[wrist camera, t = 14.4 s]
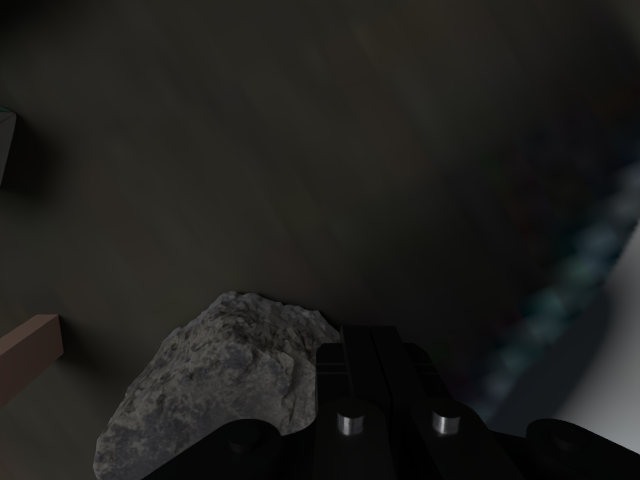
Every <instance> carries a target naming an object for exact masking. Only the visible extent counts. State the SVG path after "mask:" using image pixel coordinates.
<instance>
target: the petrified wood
mask: <svg viewBox="0 0 640 480" xmlns="http://www.w3.org/2000/svg"><path fill="white" fill-rule="evenodd" d="M322 343H340V334H339V332H338V331H336V330H335V329H334V328H333V327H332V326H331V325H330V324H328V323H327V321H326V320H325V319H324V318H323V317H322V315H321V314H320V312H319V311H318V310H317V311H309V310H305V309H303V308H302V307H300V306H293V305H284V306H283V304H282V303H281V302H274V301H272V300H269V299H266V298H263V297H261V296H260V295H258V294H256V293H247V294H245V295H241V294H239V293H237V292H235V291H230V292H227V293H224V294H222V295H221V296H219V297H218V298H217V299H216V301H215V302H214V303H212V304H211V305H210V307H209V308H208V309H207V310H205V311H203V312H201V315H199V316H198V317H197V318H196V319H194V320H192V321H190V322H189V324H188V325H187V326H185V327H183V326H180V327H178V328H176V329H175V330H174V331H173V332H172V333H171V334H170V335H169V336H168V337H167V338H166V339H165V340H163V342H162V343H161V346H160V349H159V351H158V352H157V354H156V355H155V356H154V358H153V359H152V360H151V362H150V363H149V364H148V365H147V366H146V367H145V368H144V369H143V371H142V373H141V374H140V375H139V376H138V377H137V378H136V379H135V380H134V381H133V383H132V384H131V385H130V386H129V387H128V389H127V391H126V395H125V398H124V399H123V401H122V402H121V403H120V405H119V407H118V409H117V410H116V412H115V414H114V415H113V417H112V418H111V419H110V421H109V423H108V426H107V427H106V428H105V430H104V431H103V432H102V434H101V435H100V436H99V438H98V440H97V446H96V453H95V459H94V465H93V469H94V473H95V475H96V477H97V479H98V480H141V479H142V478H144V477H145V476H147V475H148V474H150V473H151V472H153V471H154V470H156V469H157V468H159V467H160V466H162V465H163V464H165V463H166V462H168V461H169V460H171V459H172V458H174V457H175V456H177V455H178V454H180V453H181V452H183V451H184V450H186V449H187V448H189V447H190V446H192V445H193V444H195V443H196V442H198V441H199V440H201V439H202V438H204V437H205V436H207V435H208V434H210V433H211V432H213V431H214V430H216V429H217V428H219V427H221V426H222V425H224V424H226V423H229V422H231V421H235V420H239V419H259V420H263V421H266V422H269V423H271V424H272V425H274V426H275V427H276V428H277V429H278V430H279V432H280V434H281V436H283V435H288V434H291V433H295V432H298V431H300V430H302V429H304V428H306V427H307V426H308V425H310V424H311V423H312V422H313V421H314V420H315V362H316V351H317V350H318V349H319V347H320V346H321V345H322Z"/></svg>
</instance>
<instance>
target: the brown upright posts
mask: <svg viewBox="0 0 640 480" xmlns="http://www.w3.org/2000/svg"><path fill="white" fill-rule="evenodd" d="M63 353H64V350H63V343H62V337H61V330H60V323H59V316H58V314H56V315H36V316H34V317H33V318H31V319H30V320H28V321H26V322H25V323H23V324H22V325H20V326H19V327H17V328H16V329H14V330H13V331H11V332H10V333H8V334H7V335H5V336H3V337H2V338H0V409H1V408H2V407H4V406H5V405H6V404H7V403H8V402H9V401H10V400H11V399H13V398H14V397H15V396H16V395H17V394H18V393H19V392H20V391H22V390H23V389H24V388H25V387H26V386H27V385H28V384H29V383H31V382H32V381H33V380H34V379H35V378H36V377H37V376H39V375H40V374H41V373H42V372H43V371H44V370H45V369H46V368H48V367H49V366H50V365H51V364H52V363H53V362H54V361H55V360H57V359H58V358H59V357H60V356H61V355H62V354H63Z"/></svg>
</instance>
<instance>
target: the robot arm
mask: <svg viewBox="0 0 640 480" xmlns="http://www.w3.org/2000/svg"><path fill="white" fill-rule="evenodd" d="M141 480H640V455H639V454H638V453H636V452H634V451H631V450H629V449H627V448H625V447H623V446H621V445H618V444H616V443H614V442H612V441H610V440H608V439H606V438H604V437H602V436H599V435H597V434H595V433H593V432H591V431H589V430H587V429H585V428H582V427H580V426H578V425H575V424H573V423H569V422H566V421H562V420H557V419H539V420H536V421H533V422H531V423H530V424H529V425H528V427H527V431H526V437H525V438H522V437H518V436H513V435H508V434H503V433H499V432H494V431H491V430H489V429H488V428H487V426H486V425H485V424H484V422H483V421H482V419H481V418H480V417H479V415H478V414H477V413H476V412H475V411H474V410H473V409H471V408H470V407H468V406H467V405H465V404H463V403H461V402H458V401H456V400H453V398H452V396H451V395H450V393H449V391H448V389H447V388H446V386H445V384H444V382H443V380H442V379H441V377H440V375H439V374H438V371H437V370H436V368H435V366H434V365H433V363H432V361H431V359H430V357H429V355H428V354H427V352H426V351H424V350H423V349H421V348H420V347H419V346H417V345H416V344H415V343H403V342H402V340H401V338H400V336H399V334H398V332H397V329H396V327H395V326H368V327H367V326H341V329H340V343H322V345H321V346H320V347H319V349H318V350H317V351H316V362H315V420H314V421H313V422H312V423H311V424H310V425H308V426H307V427H306V428H304V429H302V430H300V431H298V432H295V433H291V434H288V435H283V436H281V434H280V432H279V430H278V429H277V428H276V427H275V426H274V425H272V424H271V423H269V422H266V421H263V420H259V419H239V420H235V421H231V422H229V423H226V424H224V425H222V426H221V427H219V428H217V429H216V430H214V431H213V432H211V433H210V434H208V435H207V436H205V437H204V438H202V439H201V440H199V441H198V442H196V443H195V444H193V445H192V446H190V447H189V448H187V449H186V450H184V451H183V452H181V453H180V454H178V455H177V456H175V457H174V458H172V459H171V460H169V461H168V462H166V463H165V464H163V465H162V466H160V467H159V468H157V469H156V470H154V471H153V472H151V473H150V474H148V475H147V476H145V477H144V478H142V479H141Z"/></svg>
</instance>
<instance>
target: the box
mask: <svg viewBox="0 0 640 480" xmlns="http://www.w3.org/2000/svg"><path fill="white" fill-rule="evenodd" d="M15 124H16V113H14V112H12V111H10V110H8V109H6V108H3V107H1V106H0V185H1V182H2V178H3V174H4V170H5V166H6V162H7V158H8V154H9V150H10V146H11V142H12V138H13V134H14V129H15Z"/></svg>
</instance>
